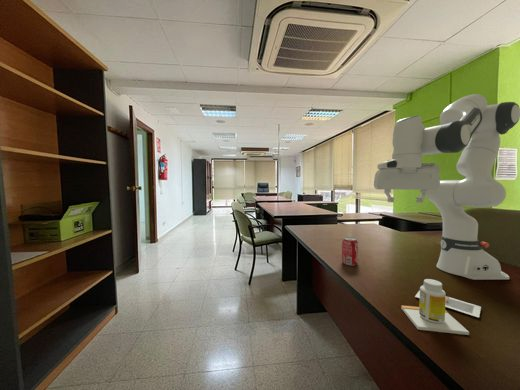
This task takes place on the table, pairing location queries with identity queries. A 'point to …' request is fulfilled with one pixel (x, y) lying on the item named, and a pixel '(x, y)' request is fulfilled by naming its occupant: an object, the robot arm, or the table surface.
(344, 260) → the soda can
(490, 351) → the table surface
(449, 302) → the touchpad
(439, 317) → the supplement bottle
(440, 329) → the notepad
